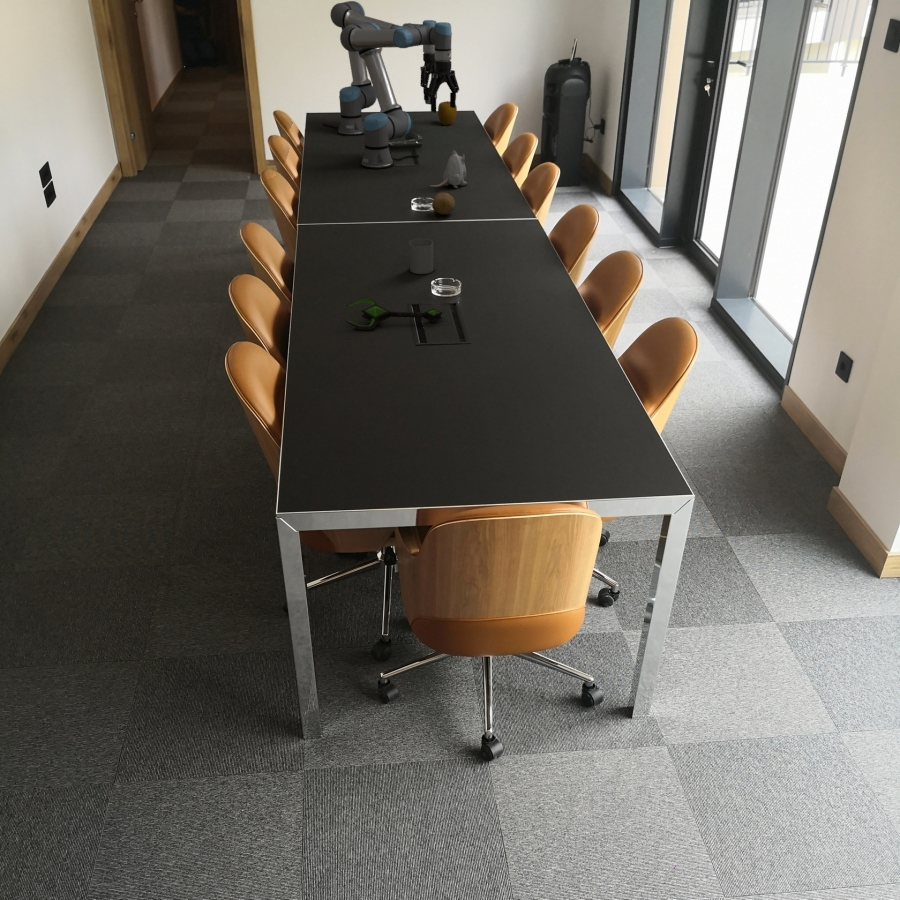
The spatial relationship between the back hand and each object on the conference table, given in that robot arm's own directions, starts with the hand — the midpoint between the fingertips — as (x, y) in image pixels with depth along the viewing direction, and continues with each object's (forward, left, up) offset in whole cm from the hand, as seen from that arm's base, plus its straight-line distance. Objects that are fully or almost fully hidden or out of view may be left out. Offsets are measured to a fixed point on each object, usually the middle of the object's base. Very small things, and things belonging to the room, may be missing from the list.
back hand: (430, 99), depth 470 cm
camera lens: (0, 0, -2) cm, 2 cm away
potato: (+64, -125, -19) cm, 142 cm away
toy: (+50, -90, -19) cm, 105 cm away
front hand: (+36, -63, +9) cm, 73 cm away
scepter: (+95, -231, -19) cm, 250 cm away
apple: (-2, +28, -19) cm, 34 cm away
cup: (+83, -187, -19) cm, 206 cm away
